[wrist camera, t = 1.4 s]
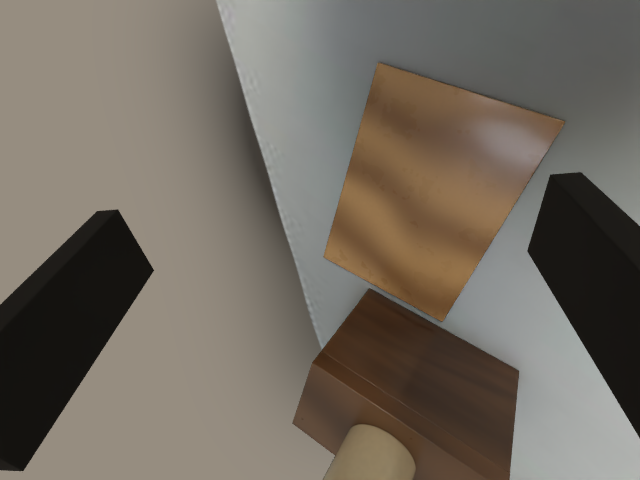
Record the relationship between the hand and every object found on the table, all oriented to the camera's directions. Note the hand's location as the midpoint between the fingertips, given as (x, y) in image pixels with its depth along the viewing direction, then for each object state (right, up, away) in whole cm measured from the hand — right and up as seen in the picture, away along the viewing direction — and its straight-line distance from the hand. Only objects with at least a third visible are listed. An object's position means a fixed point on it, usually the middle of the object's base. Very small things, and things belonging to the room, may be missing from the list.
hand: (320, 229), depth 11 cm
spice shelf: (+11, -13, +27) cm, 32 cm away
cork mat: (+9, +3, +20) cm, 22 cm away
